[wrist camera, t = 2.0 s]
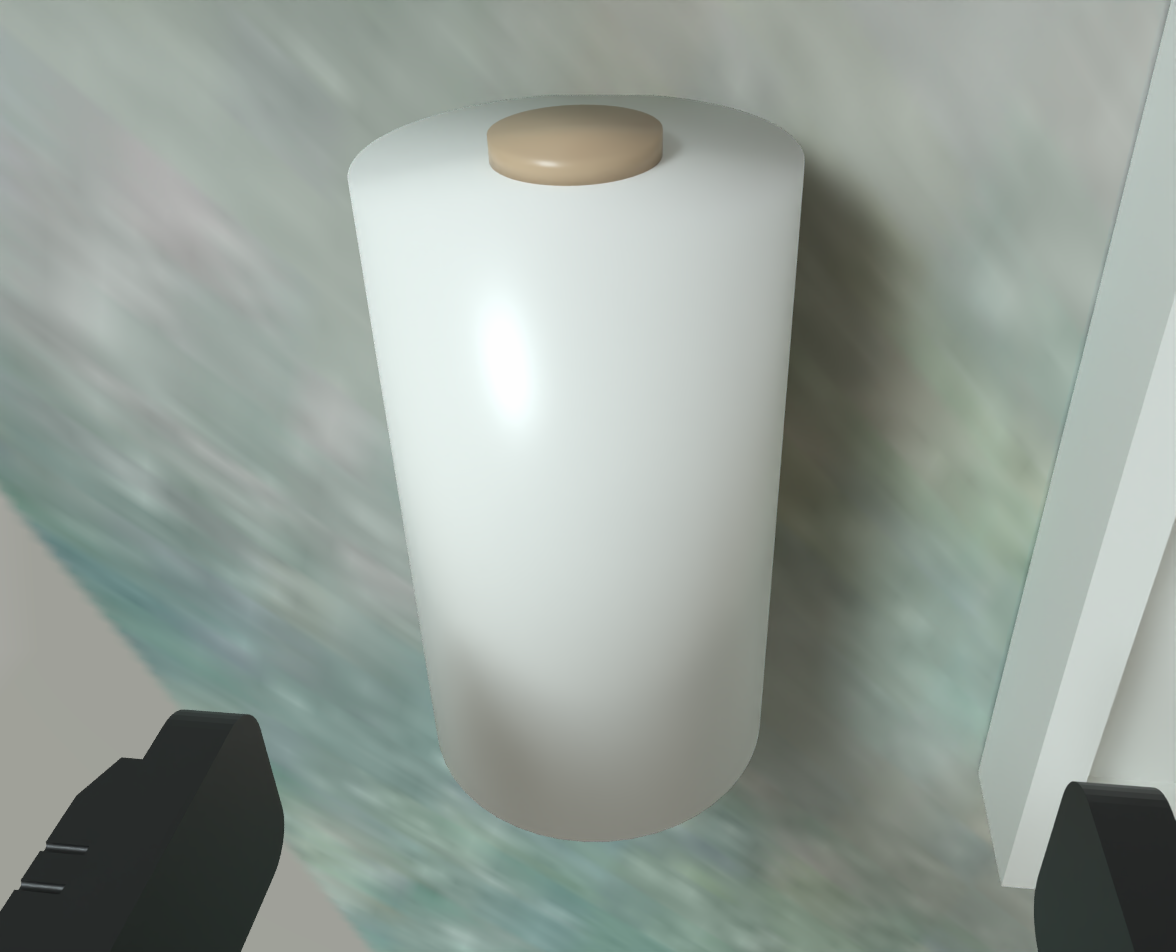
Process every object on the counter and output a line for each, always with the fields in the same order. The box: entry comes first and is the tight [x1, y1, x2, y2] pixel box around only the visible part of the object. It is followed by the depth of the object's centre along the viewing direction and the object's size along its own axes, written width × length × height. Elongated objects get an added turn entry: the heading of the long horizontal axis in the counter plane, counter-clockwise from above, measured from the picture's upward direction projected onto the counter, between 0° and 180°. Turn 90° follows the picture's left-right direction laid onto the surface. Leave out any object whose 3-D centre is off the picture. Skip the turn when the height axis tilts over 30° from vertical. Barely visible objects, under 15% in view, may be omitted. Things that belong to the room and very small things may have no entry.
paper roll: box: [347, 95, 805, 842], centre depth 15 cm, size 10×5×5 cm, turn 2°
